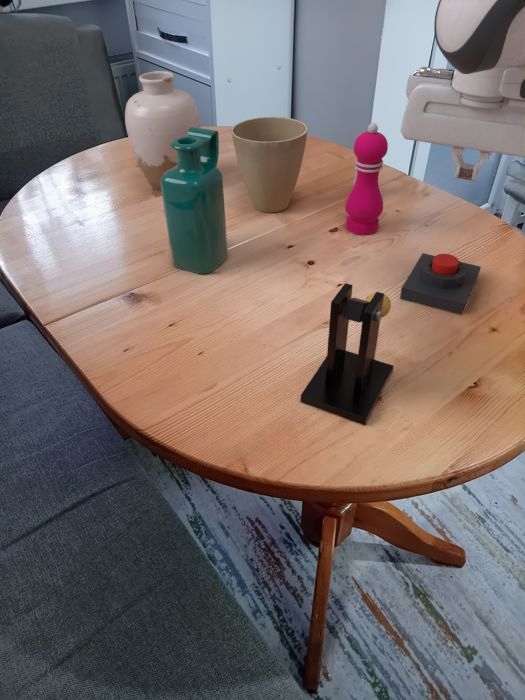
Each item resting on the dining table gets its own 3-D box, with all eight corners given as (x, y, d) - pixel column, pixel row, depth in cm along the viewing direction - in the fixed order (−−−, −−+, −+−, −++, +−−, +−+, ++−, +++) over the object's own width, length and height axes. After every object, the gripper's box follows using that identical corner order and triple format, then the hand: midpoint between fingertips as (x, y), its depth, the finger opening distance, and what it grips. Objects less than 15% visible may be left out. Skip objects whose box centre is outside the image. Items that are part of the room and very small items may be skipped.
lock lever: (365, 313, 77) (371, 289, 76) (389, 320, 76) (396, 295, 75) (335, 320, 64) (343, 291, 63) (363, 329, 63) (372, 299, 62)
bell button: (435, 260, 90) (437, 251, 89) (459, 266, 88) (461, 256, 87) (428, 272, 87) (430, 262, 86) (453, 278, 86) (455, 268, 84)
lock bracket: (332, 353, 78) (340, 265, 68) (392, 372, 75) (409, 283, 65) (300, 402, 71) (303, 312, 61) (365, 425, 68) (379, 334, 58)
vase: (176, 203, 116) (161, 90, 101) (122, 188, 123) (100, 80, 108) (219, 177, 126) (210, 70, 111) (166, 164, 133) (152, 62, 118)
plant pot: (318, 199, 116) (321, 123, 106) (281, 227, 107) (281, 147, 97) (260, 184, 123) (258, 111, 112) (221, 210, 113) (215, 133, 103)
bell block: (420, 263, 96) (424, 243, 93) (478, 277, 92) (483, 257, 90) (399, 298, 88) (403, 278, 85) (461, 315, 84) (467, 294, 82)
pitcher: (208, 277, 94) (195, 152, 80) (168, 266, 97) (148, 143, 83) (235, 251, 101) (228, 131, 86) (197, 241, 104) (183, 124, 89)
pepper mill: (341, 234, 104) (349, 129, 91) (345, 217, 110) (354, 115, 97) (379, 238, 103) (393, 131, 90) (381, 220, 108) (395, 117, 95)
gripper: (402, 71, 70) (388, 173, 79) (573, 89, 63) (536, 200, 72) (416, 60, 74) (401, 158, 84) (578, 75, 67) (542, 182, 76)
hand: (465, 178), depth 78 cm, fingers closed
